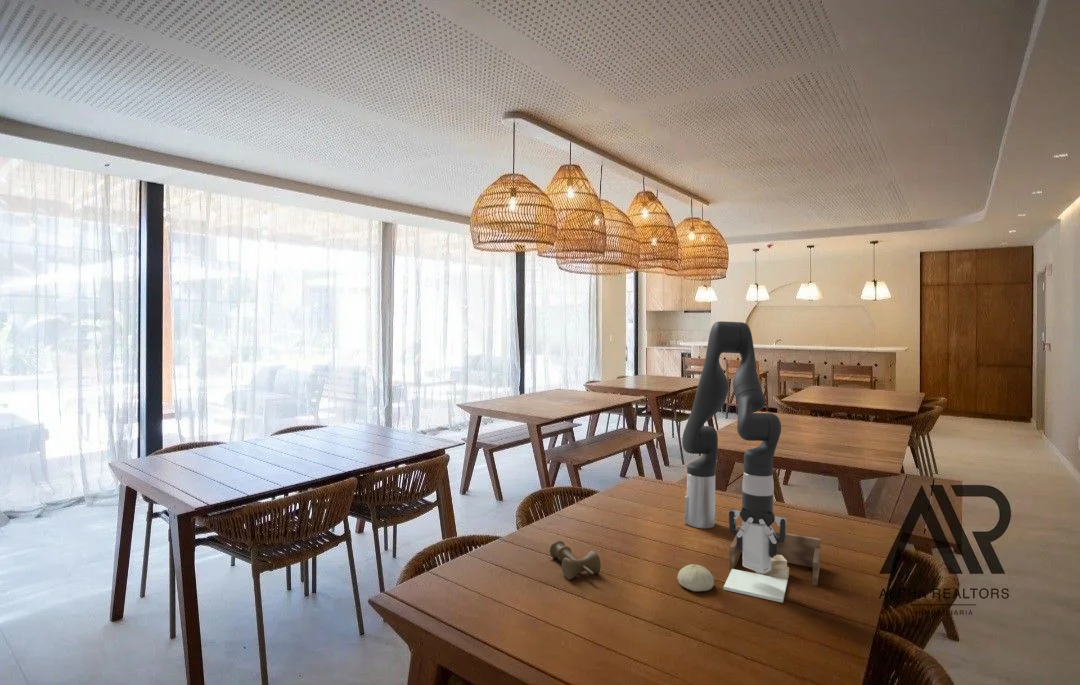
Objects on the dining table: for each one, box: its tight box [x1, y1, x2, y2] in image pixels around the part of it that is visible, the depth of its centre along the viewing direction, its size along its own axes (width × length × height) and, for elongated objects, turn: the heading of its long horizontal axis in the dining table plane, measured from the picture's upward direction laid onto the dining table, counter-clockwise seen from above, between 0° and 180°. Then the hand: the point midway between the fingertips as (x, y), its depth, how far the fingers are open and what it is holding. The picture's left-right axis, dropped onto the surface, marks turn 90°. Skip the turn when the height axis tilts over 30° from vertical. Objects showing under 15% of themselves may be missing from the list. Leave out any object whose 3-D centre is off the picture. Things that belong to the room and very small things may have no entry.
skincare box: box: [741, 520, 772, 574], centre depth 146 cm, size 6×4×12 cm
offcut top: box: [771, 555, 788, 570], centre depth 154 cm, size 6×4×2 cm, turn 86°
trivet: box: [723, 568, 789, 604], centre depth 147 cm, size 14×12×1 cm
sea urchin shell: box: [677, 563, 715, 592], centre depth 147 cm, size 9×8×8 cm
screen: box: [729, 524, 821, 587], centre depth 158 cm, size 22×13×8 cm, turn 62°
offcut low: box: [755, 566, 790, 581], centre depth 154 cm, size 8×4×2 cm, turn 62°
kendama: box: [549, 540, 602, 581], centre depth 156 cm, size 6×10×20 cm
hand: (756, 553), depth 146 cm, fingers closed on skincare box, 7 cm apart
